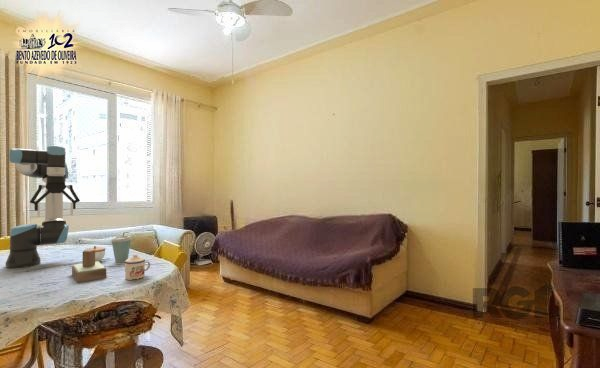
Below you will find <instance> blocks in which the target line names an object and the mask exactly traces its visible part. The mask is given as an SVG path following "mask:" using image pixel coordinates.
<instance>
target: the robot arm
mask: <svg viewBox="0 0 600 368" xmlns="http://www.w3.org/2000/svg"><path fill="white" fill-rule="evenodd" d="M46 149H47V150H46ZM46 149H45V150H43V149H28V148H27V149H25V148H10V149H9V152H8V153H9V154H8V160H9V162H10V163H11V164H15V169H16V171H17V172H18V173H19V174H21V175H22V176H26V177H29V178H34V179H37V178H38V179H42V182H44V183H45V184H38V187H37V190H36V192H35V193H34V194H33V196H32V197H31V199H30V201H29V203H30V204H32V205H34V212H36V213H37V214H36V217H37V218H40V217H41V216H40V215H41V206H40V205H41V204H40V203H41V201H43V200H44V199H45V203H44V206H45V208H44V209H45V213H44V220H43V221H42V222H41V225H38V223H27V224H23V225H16V226H14V227H12V228H10V231H9V233H10V234H9V237H10V241H9V254H8V257H7V259H6V261H5V265H4V266H5V268H6V269H19V268H27V267H32V266H36V265H37V266H38V265H39V264H41V262H42V261H41V257H40V255H39V253H38V246H46V245H58V244H64V243H66V242H67V240H68V234H69V227H70V224H69V223H67V221H66V220H65V219H64V198H63V197H64V196H65V197H66V198H67V199H68V200H69V201H70V208H69V209H70V214H69V215H70V216H74V210H76V205H77V203H80V198H79V196H78V195H77V193H76V192H75V190H74V189H73V188H74V187H73V185H72V184H68V185H67V184H66V179H68V178H69V170H68V169H69V168H68V164H67V162H66V154H67V153H66V147H65V146H63V145H48V146H47V148H46ZM66 188H67V189H68V190H69V191H70V193H71V195H72V197H74V199H73V198H72V197H71V195H70V194H68V193H67V192H66V191H65V189H66ZM44 189H45V192H44V193H43V194H42V195H41V196H40V197H39V198H38V199H37V197H38V196H39V194H40V193H41V191H42V190H44ZM63 195H64V196H63ZM36 199H37V200H36Z"/></svg>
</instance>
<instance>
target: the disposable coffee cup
mask: <svg viewBox="0 0 600 368" xmlns="http://www.w3.org/2000/svg"><path fill="white" fill-rule="evenodd" d="M131 241H132V238H131V236H130V235H122V236H120V235H119V236H115V237H113V238H112V239H111V241H110V242H111V245H112V249H113V256H114V261H115V262H116V263H125V261H126V260H127V259H129V255H130V254H129V253H130V248H131Z"/></svg>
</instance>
